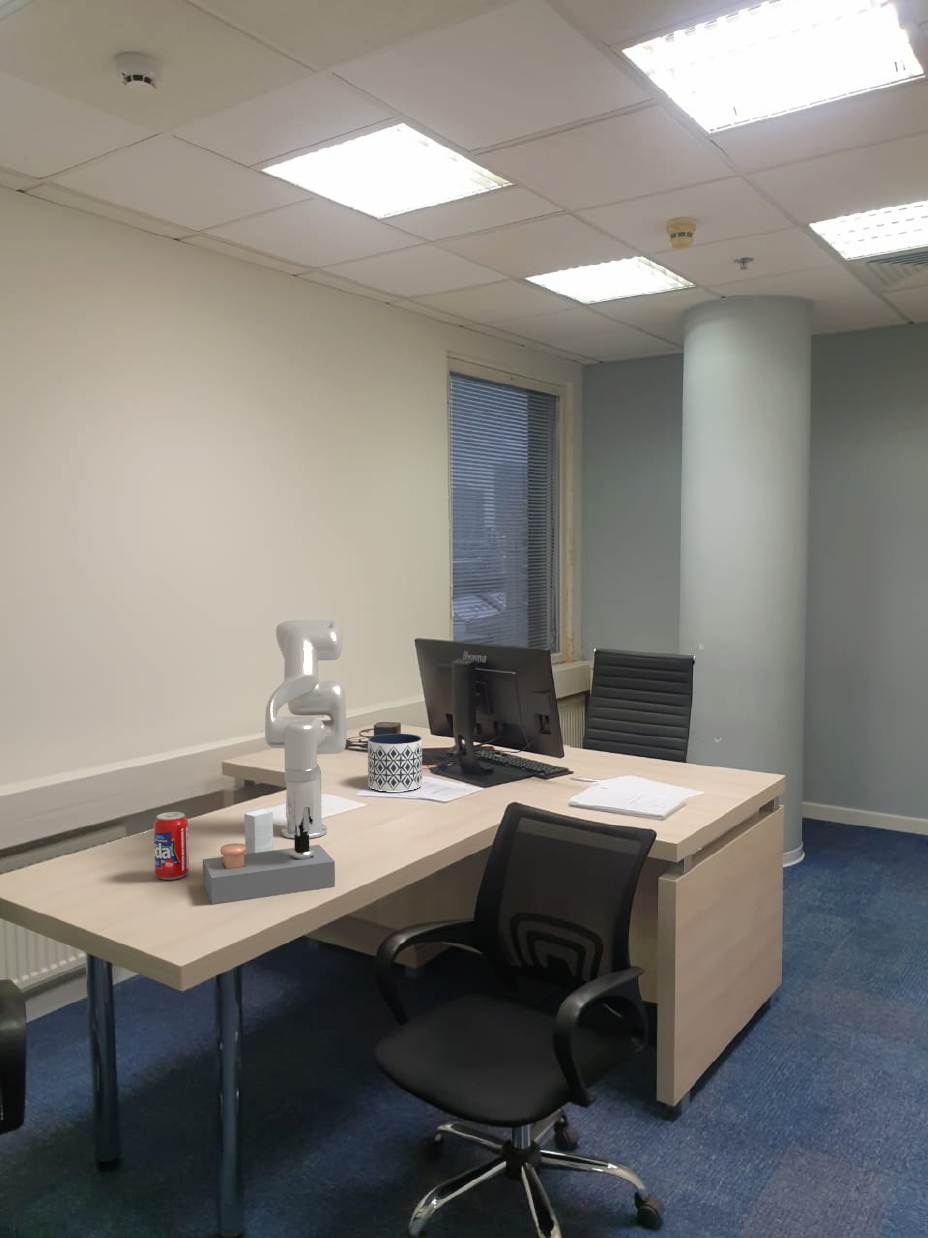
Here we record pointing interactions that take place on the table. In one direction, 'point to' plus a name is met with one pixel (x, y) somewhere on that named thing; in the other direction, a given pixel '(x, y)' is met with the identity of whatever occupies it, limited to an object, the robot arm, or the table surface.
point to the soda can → (171, 846)
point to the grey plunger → (301, 854)
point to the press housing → (267, 875)
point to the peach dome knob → (233, 855)
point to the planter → (394, 762)
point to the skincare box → (259, 831)
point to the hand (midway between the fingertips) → (301, 851)
